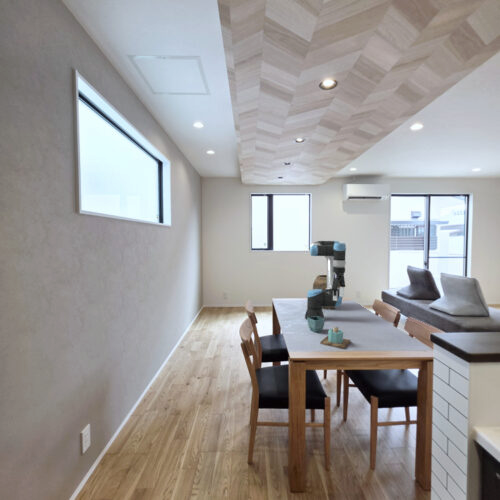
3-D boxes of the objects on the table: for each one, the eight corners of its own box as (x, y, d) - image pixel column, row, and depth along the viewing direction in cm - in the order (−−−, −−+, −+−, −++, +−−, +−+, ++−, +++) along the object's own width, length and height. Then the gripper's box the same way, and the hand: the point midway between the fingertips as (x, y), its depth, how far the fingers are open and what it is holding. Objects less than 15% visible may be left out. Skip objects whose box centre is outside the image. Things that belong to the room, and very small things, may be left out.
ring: (326, 341, 163) (327, 331, 163) (331, 337, 170) (331, 328, 170) (340, 344, 159) (340, 334, 159) (344, 340, 165) (344, 330, 165)
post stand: (320, 343, 163) (320, 328, 162) (328, 337, 174) (328, 323, 174) (343, 349, 155) (344, 333, 154) (350, 341, 166) (350, 327, 166)
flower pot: (315, 333, 180) (315, 320, 180) (306, 330, 188) (306, 317, 188) (325, 332, 184) (325, 319, 184) (316, 328, 192) (316, 315, 192)
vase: (308, 304, 263) (309, 274, 263) (334, 304, 266) (335, 274, 265) (318, 311, 237) (318, 277, 237) (346, 311, 240) (347, 277, 239)
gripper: (338, 269, 165) (338, 303, 166) (350, 265, 185) (349, 295, 187) (326, 268, 169) (326, 301, 171) (339, 264, 190) (338, 294, 191)
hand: (338, 298), depth 179 cm, fingers open, 13 cm apart
